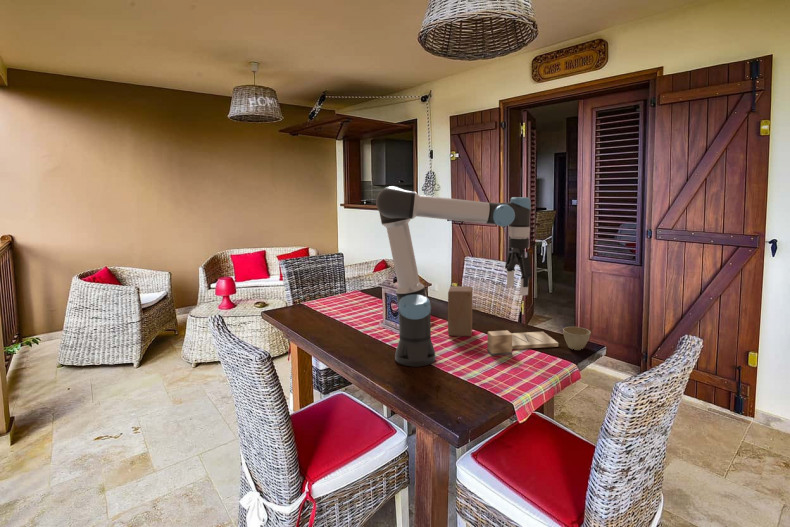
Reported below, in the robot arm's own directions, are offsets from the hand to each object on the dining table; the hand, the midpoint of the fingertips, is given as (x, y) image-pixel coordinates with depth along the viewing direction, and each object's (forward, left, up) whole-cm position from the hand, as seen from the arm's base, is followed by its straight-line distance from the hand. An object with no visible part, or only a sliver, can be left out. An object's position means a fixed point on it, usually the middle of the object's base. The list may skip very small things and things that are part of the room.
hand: (516, 290), depth 175 cm
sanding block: (-9, -7, -22) cm, 25 cm away
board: (+6, +2, -22) cm, 23 cm away
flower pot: (+22, -7, -23) cm, 32 cm away
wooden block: (-18, +18, -23) cm, 34 cm away
